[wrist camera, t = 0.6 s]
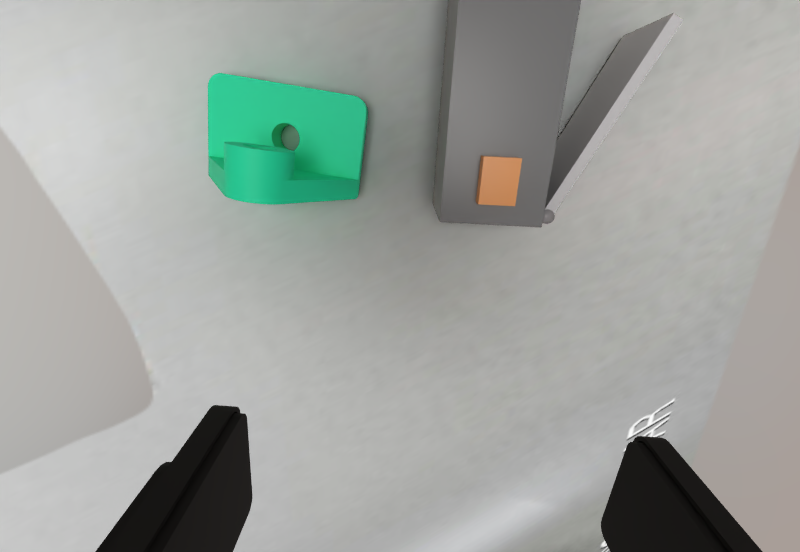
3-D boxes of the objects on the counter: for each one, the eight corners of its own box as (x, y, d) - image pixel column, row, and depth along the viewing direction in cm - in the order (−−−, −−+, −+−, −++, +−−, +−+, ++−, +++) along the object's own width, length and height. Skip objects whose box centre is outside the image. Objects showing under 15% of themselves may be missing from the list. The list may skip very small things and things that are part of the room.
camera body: (452, -50, 28) (471, -128, 20) (550, -44, 28) (611, -120, 20) (432, 203, 35) (441, 225, 26) (513, 207, 35) (547, 230, 26)
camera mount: (370, 101, 32) (355, 85, 22) (359, 194, 35) (341, 217, 25) (223, 76, 32) (142, 49, 22) (222, 172, 34) (150, 186, 24)
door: (620, 35, 30) (674, 10, 24) (635, 45, 30) (692, 23, 24) (514, 204, 34) (537, 219, 28) (528, 212, 34) (553, 228, 28)
